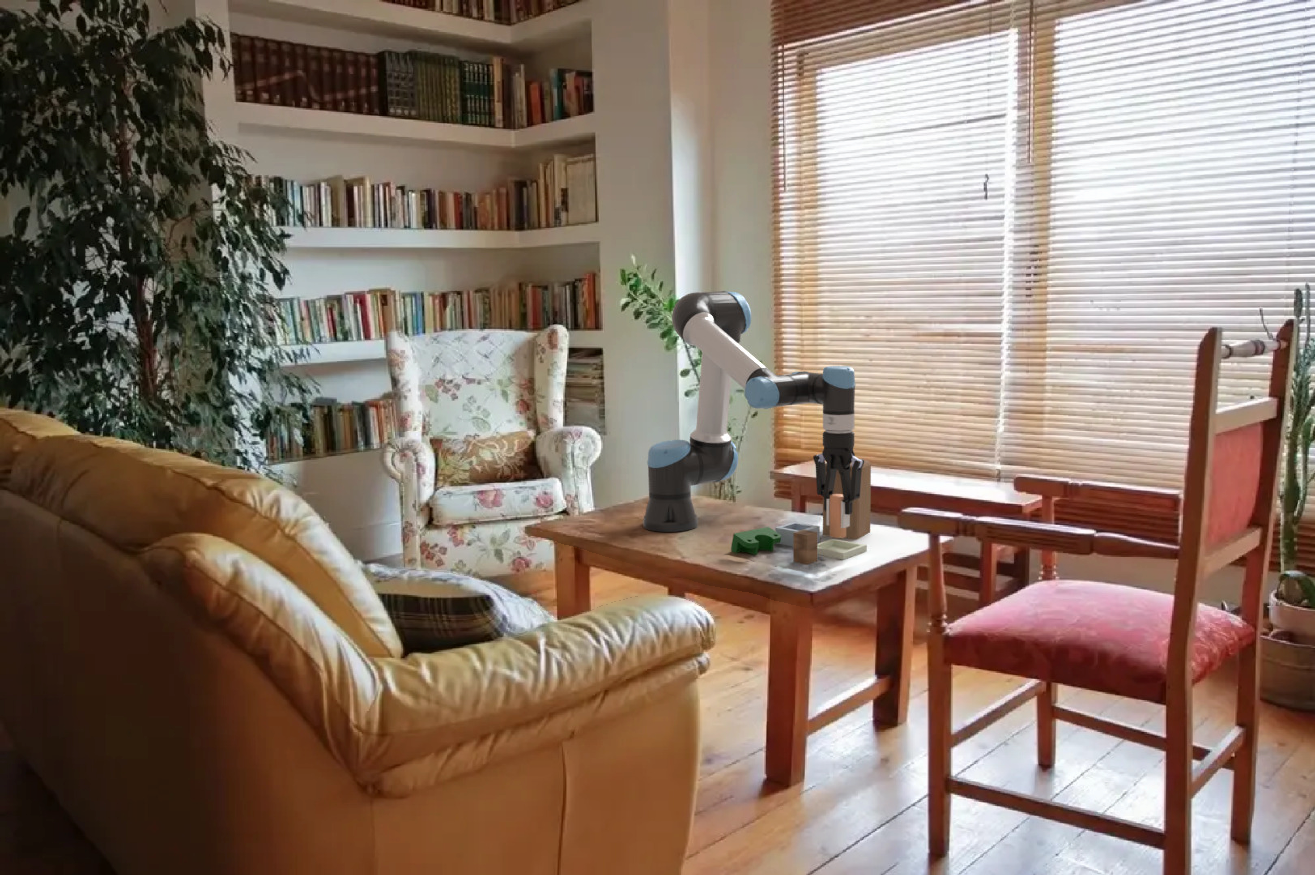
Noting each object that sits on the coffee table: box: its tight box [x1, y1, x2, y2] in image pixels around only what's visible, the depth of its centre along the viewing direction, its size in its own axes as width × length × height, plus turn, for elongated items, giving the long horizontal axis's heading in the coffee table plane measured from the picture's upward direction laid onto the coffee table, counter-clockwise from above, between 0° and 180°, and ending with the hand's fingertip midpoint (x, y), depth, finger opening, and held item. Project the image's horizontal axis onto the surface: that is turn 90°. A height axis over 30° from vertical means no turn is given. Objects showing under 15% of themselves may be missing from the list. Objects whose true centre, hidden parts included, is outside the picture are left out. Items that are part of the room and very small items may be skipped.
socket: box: [774, 521, 821, 547], centre depth 262 cm, size 8×8×5 cm
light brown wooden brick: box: [792, 530, 818, 565], centre depth 245 cm, size 4×4×8 cm
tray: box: [817, 538, 868, 560], centre depth 253 cm, size 10×10×2 cm
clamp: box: [730, 526, 781, 556], centre depth 255 cm, size 12×6×9 cm, turn 117°
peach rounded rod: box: [829, 494, 846, 539], centre depth 251 cm, size 4×4×10 cm
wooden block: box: [822, 459, 872, 540], centre depth 270 cm, size 10×10×20 cm
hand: (838, 525), depth 252 cm, fingers closed on peach rounded rod, 3 cm apart
